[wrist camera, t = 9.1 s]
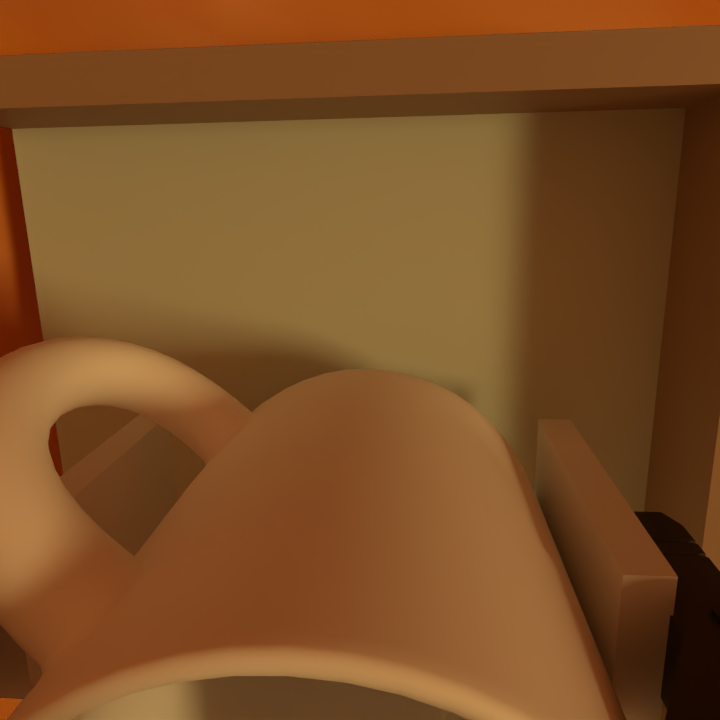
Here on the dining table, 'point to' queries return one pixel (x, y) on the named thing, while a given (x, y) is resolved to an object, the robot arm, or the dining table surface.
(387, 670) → the mug
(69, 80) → the shallow square tray
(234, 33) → the dining table surface
